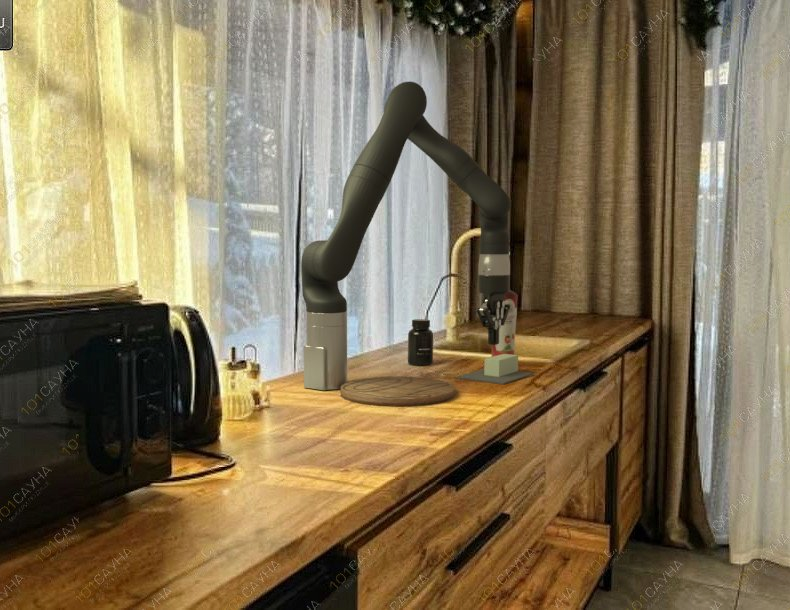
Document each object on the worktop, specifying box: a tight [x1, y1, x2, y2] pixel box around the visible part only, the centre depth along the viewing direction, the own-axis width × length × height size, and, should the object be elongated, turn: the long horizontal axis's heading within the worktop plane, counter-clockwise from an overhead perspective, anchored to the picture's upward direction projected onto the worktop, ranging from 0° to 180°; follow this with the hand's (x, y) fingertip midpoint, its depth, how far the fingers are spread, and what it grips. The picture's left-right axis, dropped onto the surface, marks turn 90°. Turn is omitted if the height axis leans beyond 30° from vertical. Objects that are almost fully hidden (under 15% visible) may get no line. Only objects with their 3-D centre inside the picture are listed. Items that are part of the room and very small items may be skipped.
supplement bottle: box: [407, 318, 434, 367], centre depth 203 cm, size 7×7×12 cm
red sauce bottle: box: [490, 289, 519, 357], centre depth 200 cm, size 7×7×28 cm
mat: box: [455, 368, 535, 385], centre depth 185 cm, size 16×13×1 cm
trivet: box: [340, 375, 456, 408], centre depth 164 cm, size 25×25×2 cm
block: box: [483, 354, 519, 377], centre depth 188 cm, size 4×4×10 cm
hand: (493, 344), depth 183 cm, fingers closed
